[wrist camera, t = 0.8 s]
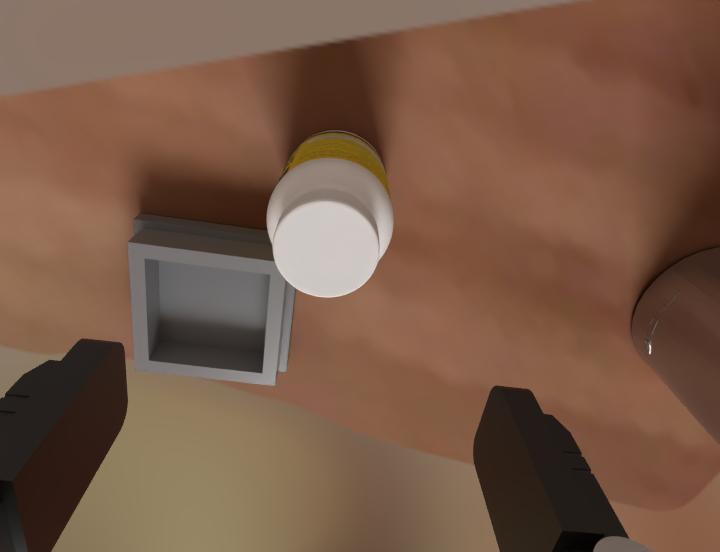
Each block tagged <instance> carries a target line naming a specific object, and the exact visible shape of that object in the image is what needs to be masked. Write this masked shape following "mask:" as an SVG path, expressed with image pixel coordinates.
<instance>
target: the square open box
mask: <svg viewBox="0 0 720 552" xmlns="http://www.w3.org/2000/svg"><path fill="white" fill-rule="evenodd" d="M134 233H135V236H134V237H133V238H132V239H130V240H129V241H128V256H129V274H130V291H131V308H132V325H133V343H134V360H135V370H137V371H146V372H156V373H164V374H174V375H183V376H191V377H200V378H209V379H218V380H227V381H236V382H245V383H254V384H263V385H272V386H275V384H276V379H277V375H278V371H281V372H286V370H287V364H288V357H289V347H290V338H291V329H292V320H293V311H294V301H295V292H296V288H295V287H293V286H292V285H291V284H290V283H289V282H288V281H287V280H286V279H285V278H284V277H283V276H282V274H281V273H280V271H279V270H278V268H277V266H276V263H275V260H274V256H273V249H272V243H271V241H270V238H269V234H268V231H267V230H260V229H253V228H245V227H238V226H231V225H223V224H216V223H209V222H202V221H194V220H187V219H180V218H172V217H165V216H158V215H150V214H143V213H141V214H139V215H138V216H137V217H136V218H135V219H134Z"/></svg>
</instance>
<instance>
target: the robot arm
mask: <svg viewBox="0 0 720 552" xmlns="http://www.w3.org/2000/svg"><path fill="white" fill-rule="evenodd" d="M631 332H632V338H633V343H634V345H635V347H636V349H637V351H638V354H639V355H640V356H641V357H642V358H643V359H644V360H645V361H646V363H647V364H648V365H649V366H650V367H651V368H652V369H653V371H654V372H655V373H656V374H657V375H658V376H659V377H660V378H661V380H662V381H663V382H664V383H665V384H666V385H667V386H668V388H669V389H670V390H671V391H672V392H673V393H674V394H675V396H676V397H677V398H678V399H679V400H680V402H681V403H682V404H683V405H684V406H685V407H686V408H687V409H688V411H689V412H690V413H691V414H692V415H693V416H694V417H695V418H696V420H697V421H698V422H699V423H700V424H701V425H702V426H703V427H704V428H705V430H706V431H707V432H708V433H709V434H710V435H711V436H712V437H713V439H714V440H715V441H716V442H717V443H718V444H719V445H720V247H718V248H714V249H709V250H705V251H701V252H699V253H696V254H694V255H691V256H689V257H687V258H684V259H683V260H681V261H680V262H678V263H676V264H675V265H673V266H671V267H670V268H668V269H667V270H666V271H665V272H664V273H662V274H661V275H660V276H659V277H658V278H657V279H656V280H655V281H654V282H653V283H652V284H651V285H650V287H649V288H648V289H647V290H646V291H645V293H644V294H643V296H642V298H641V300H640V301H639V303H638V305H637V307H636V310H635V313H634V316H633V320H632V331H631ZM127 405H128V395H127V381H126V365H125V351H124V347H123V345H122V343H120V342H111V341H102V340H93V339H81V340H79V341H78V342H77V343H76V344H75V345H74V346H73V347H72V349H71V350H70V351H69V352H68V353H67V354H66V355H65V357H64V358H63V359H62V360H61V361H55V360H48V361H47V362H45V363H43V364H41V365H39V366H38V367H36V368H34V369H32V370H31V371H29V372H27V373H25V374H24V375H23V376H22V377H21V378H20V379H19V380H18V381H17V382H16V383H15V384H14V385H13V386H12V387H11V388H10V389H9V390H8V391H7V392H6V394H5V397H4V398H1V399H0V552H51V551H52V549H53V547H54V546H55V544H56V542H57V540H58V539H59V537H60V535H61V533H62V531H63V530H64V528H65V526H66V525H67V523H68V521H69V519H70V518H71V516H72V514H73V512H74V511H75V509H76V507H77V505H78V504H79V502H80V500H81V498H82V497H83V495H84V493H85V491H86V490H87V488H88V486H89V484H90V483H91V481H92V479H93V477H94V476H95V474H96V472H97V470H98V469H99V467H100V465H101V463H102V462H103V460H104V458H105V456H106V454H107V453H108V451H109V449H110V448H111V446H112V444H113V442H114V441H115V439H116V437H117V435H118V434H119V432H120V430H121V428H122V426H123V423H124V420H125V416H126V412H127ZM581 454H582V453H581V451H580V449H579V447H578V446H577V444H576V442H575V440H574V438H573V437H572V435H571V433H570V432H569V431H568V430H567V429H566V428H565V427H564V426H563V425H562V424H561V423H560V422H559V421H558V420H557V419H556V418H555V417H553V416H552V415H548V414H543V412H542V410H541V408H540V406H539V404H538V402H537V400H536V399H535V397H534V395H533V393H532V392H531V391H530V390H529V389H522V388H513V387H504V386H494V387H493V388H492V390H491V392H490V394H489V397H488V400H487V403H486V406H485V409H484V412H483V415H482V418H481V421H480V423H479V426H478V429H477V432H476V435H475V439H474V446H473V457H474V464H475V468H476V472H477V475H478V478H479V482H480V485H481V489H482V492H483V495H484V498H485V502H486V506H487V509H488V512H489V516H490V519H491V523H492V526H493V529H494V533H495V536H496V540H497V543H498V546H499V550H500V552H653V551H652V550H650V549H649V548H647V547H646V546H644V545H642V544H640V543H638V542H636V541H633V540H631V539H629V537H628V535H627V533H626V532H625V530H624V528H623V526H622V525H621V523H620V521H619V519H618V517H617V516H616V514H615V512H614V510H613V509H612V507H611V505H610V503H609V501H608V499H607V498H606V496H605V494H604V492H603V490H602V489H601V487H600V485H599V483H598V482H597V480H596V478H595V476H594V474H591V469H590V467H589V465H588V464H587V462H586V460H585V458H584V457H582V456H581Z"/></svg>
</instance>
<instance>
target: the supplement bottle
mask: <svg viewBox="0 0 720 552" xmlns="http://www.w3.org/2000/svg"><path fill="white" fill-rule="evenodd" d="M267 230H268V234H269V238H270V241H271V243H272V249H273V256H274V260H275V263H276V266H277V268H278V270H279V271H280V273H281V274H282V276H283V277H284V278H285V279H286V280H287V281H288V282H289V283H290V284H291V285H292V286H293V287H295V288H296V289H298V290H300V291H302V292H304V293H307V294H310V295H313V296H317V297H337V296H342V295H345V294H348V293H350V292H352V291H354V290H356V289H358V288H359V287H361V286H362V285H363V284H364V283H365V282H366V281H367V280H368V279H369V278H370V276H371V275H372V274H373V272H374V270H375V268H376V266H377V263H378V261H379V259H380V258H381V257H382V256H383V254H384V253H385V251H386V249H387V247H388V245H389V243H390V240H391V237H392V232H393V209H392V203H391V198H390V192H389V187H388V182H387V176H386V172H385V168H384V165H383V162H382V160H381V158H380V156H379V155H378V153H377V151H376V150H375V149H374V148H373V147H372V146H371V144H369V143H368V142H367V141H366V140H364V139H363V138H361V137H360V136H358V135H356V134H353V133H350V132H346V131H340V130H331V131H324V132H320V133H317V134H315V135H313V136H311V137H309V138H307V139H306V140H305V141H303V142H302V143H301V144H300V145H299V146H298V147H297V148H296V150H295V151H294V152H293V154H292V156H291V157H290V159H289V161H288V163H287V165H286V167H285V169H284V171H283V173H282V175H281V177H280V179H279V181H278V183H277V184H276V186H275V188H274V190H273V193H272V195H271V198H270V201H269V204H268V209H267Z"/></svg>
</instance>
